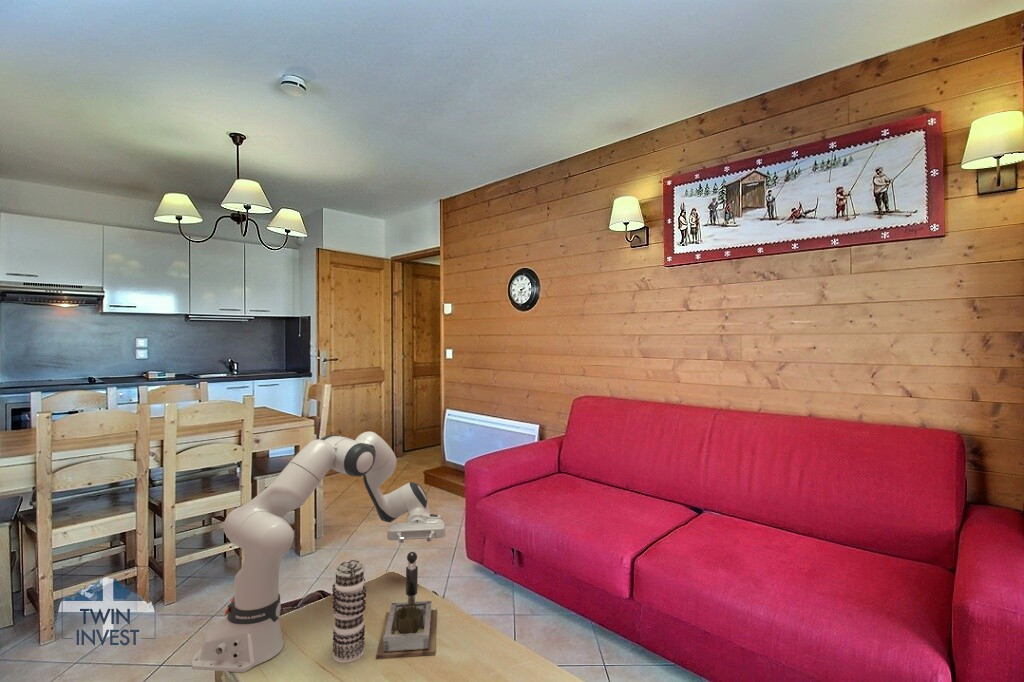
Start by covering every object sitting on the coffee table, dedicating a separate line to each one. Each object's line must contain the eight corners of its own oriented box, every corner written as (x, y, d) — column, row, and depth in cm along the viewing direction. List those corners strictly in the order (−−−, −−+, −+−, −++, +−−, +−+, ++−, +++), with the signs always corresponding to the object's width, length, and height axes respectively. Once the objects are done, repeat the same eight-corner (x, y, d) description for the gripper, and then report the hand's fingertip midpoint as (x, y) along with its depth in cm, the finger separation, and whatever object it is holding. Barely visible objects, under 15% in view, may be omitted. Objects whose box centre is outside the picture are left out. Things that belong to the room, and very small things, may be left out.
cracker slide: (383, 651, 136) (384, 582, 136) (391, 610, 157) (392, 550, 157) (428, 648, 137) (429, 580, 137) (431, 608, 158) (432, 548, 158)
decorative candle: (328, 648, 139) (330, 560, 139) (362, 639, 143) (363, 554, 143) (333, 667, 131) (334, 574, 131) (369, 657, 135) (370, 567, 135)
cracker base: (376, 659, 135) (376, 637, 135) (386, 615, 156) (386, 596, 156) (434, 655, 137) (435, 633, 137) (436, 612, 158) (437, 594, 158)
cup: (415, 648, 140) (415, 620, 140) (391, 644, 141) (391, 616, 141) (424, 632, 147) (425, 606, 147) (401, 629, 149) (402, 603, 149)
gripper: (389, 517, 181) (384, 532, 167) (445, 514, 183) (444, 529, 169) (389, 534, 181) (384, 550, 167) (445, 531, 183) (444, 547, 169)
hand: (415, 539), depth 168 cm, fingers open, 8 cm apart
